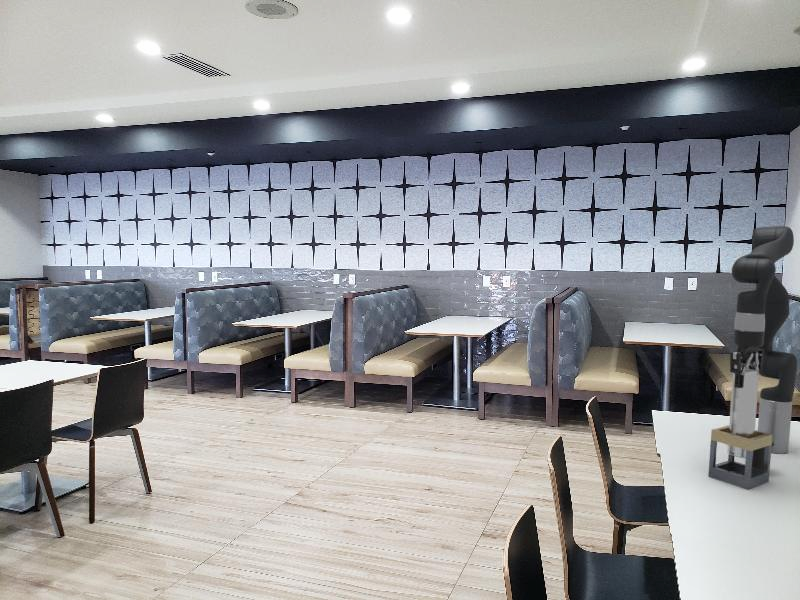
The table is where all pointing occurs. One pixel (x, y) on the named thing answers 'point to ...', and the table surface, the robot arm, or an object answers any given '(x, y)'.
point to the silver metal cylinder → (743, 410)
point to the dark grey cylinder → (759, 457)
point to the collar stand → (723, 470)
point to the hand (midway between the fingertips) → (745, 386)
